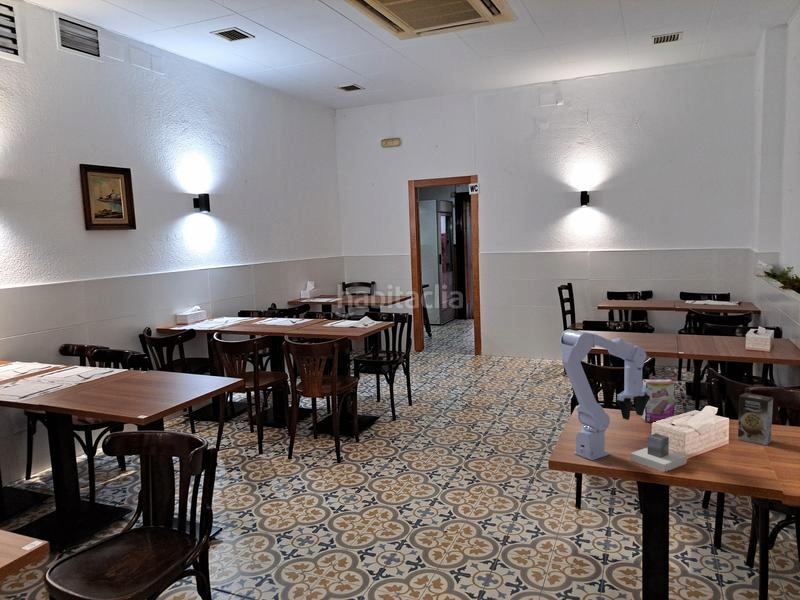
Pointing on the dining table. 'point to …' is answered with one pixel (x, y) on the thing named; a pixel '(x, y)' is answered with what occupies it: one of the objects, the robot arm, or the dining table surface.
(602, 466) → the dining table surface
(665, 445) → the grey block
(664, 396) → the candy bar box
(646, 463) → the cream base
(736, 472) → the dining table surface
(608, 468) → the dining table surface
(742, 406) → the coffee box
